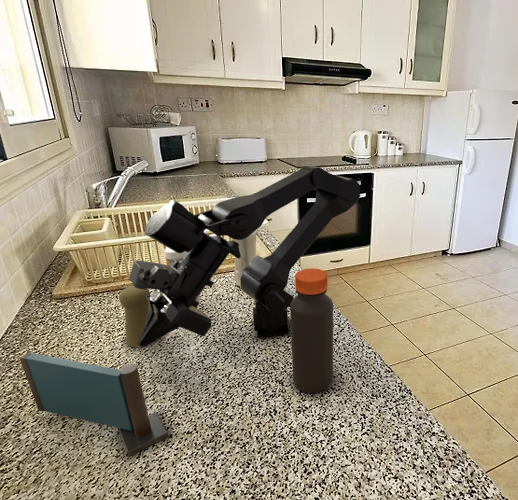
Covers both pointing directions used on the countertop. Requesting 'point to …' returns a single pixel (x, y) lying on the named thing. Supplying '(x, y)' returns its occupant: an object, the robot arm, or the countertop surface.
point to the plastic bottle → (244, 255)
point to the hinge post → (139, 415)
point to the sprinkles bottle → (173, 255)
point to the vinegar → (312, 332)
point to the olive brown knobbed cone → (134, 313)
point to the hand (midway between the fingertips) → (141, 345)
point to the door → (77, 390)
